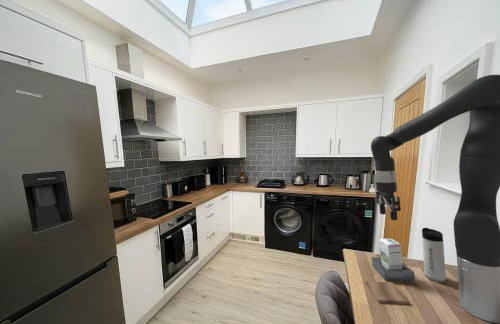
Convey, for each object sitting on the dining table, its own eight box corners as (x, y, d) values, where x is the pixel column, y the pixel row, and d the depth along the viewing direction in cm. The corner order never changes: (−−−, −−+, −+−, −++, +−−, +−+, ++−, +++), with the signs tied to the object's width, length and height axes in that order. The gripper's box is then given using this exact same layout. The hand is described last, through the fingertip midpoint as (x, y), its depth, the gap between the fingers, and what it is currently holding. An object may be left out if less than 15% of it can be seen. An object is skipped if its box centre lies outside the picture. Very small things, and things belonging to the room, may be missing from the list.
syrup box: (404, 276, 78) (401, 243, 78) (390, 277, 78) (387, 244, 78) (393, 269, 83) (391, 237, 83) (380, 269, 83) (378, 238, 83)
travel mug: (435, 272, 79) (432, 227, 79) (450, 282, 72) (447, 233, 72) (420, 272, 79) (417, 227, 79) (433, 282, 73) (430, 233, 73)
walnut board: (392, 284, 73) (392, 282, 73) (409, 304, 63) (409, 301, 63) (365, 283, 75) (365, 281, 75) (378, 302, 65) (378, 299, 65)
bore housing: (398, 266, 85) (397, 257, 85) (414, 282, 74) (414, 272, 74) (372, 265, 87) (371, 257, 87) (385, 280, 76) (384, 271, 76)
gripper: (406, 182, 73) (408, 222, 73) (386, 178, 87) (388, 212, 87) (385, 183, 74) (387, 222, 74) (368, 179, 88) (371, 212, 88)
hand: (388, 216), depth 80 cm, fingers open, 8 cm apart
